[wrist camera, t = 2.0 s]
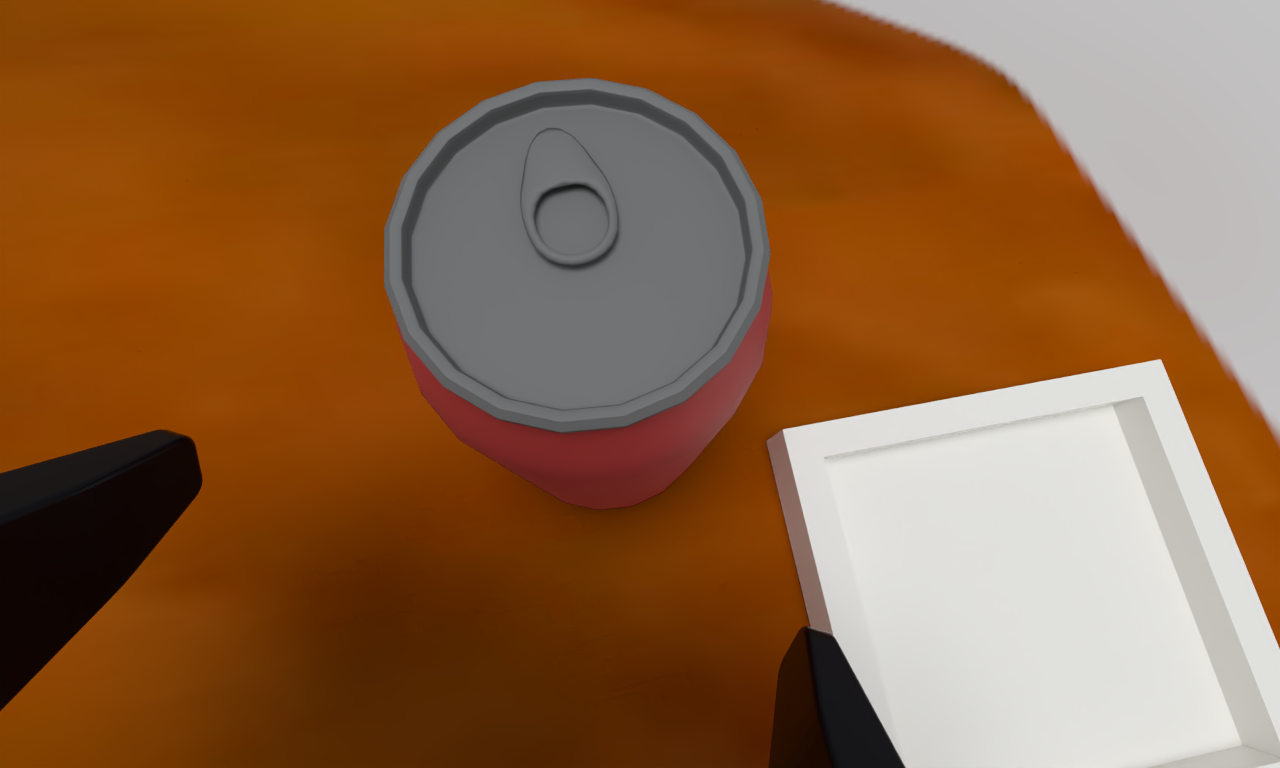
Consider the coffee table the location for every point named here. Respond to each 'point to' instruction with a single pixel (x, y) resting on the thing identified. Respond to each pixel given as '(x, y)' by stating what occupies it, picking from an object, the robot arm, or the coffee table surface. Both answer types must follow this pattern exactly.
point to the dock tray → (1035, 578)
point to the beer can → (581, 285)
